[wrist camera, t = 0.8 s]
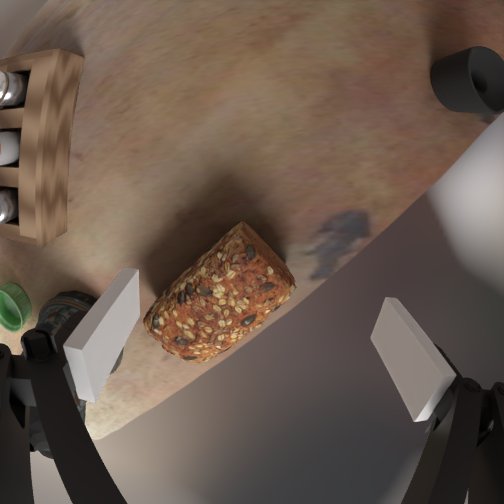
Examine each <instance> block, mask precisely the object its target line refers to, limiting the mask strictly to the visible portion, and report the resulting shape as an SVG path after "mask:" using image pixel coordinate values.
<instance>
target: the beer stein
mask: <svg viewBox="0 0 504 504" xmlns="http://www.w3.org/2000/svg"><path fill="white" fill-rule="evenodd" d="M96 301H97V299H96V298H94V297H93V296H90V295H87V294H84V293H81V292H78V291H69V292H61V293H59V294H57V295H56V296H55V297H54V298H53V299H51V300H49V301H48V302H47V303H45V305H44V306H43V307H42V309H41V311H40V314H39V318H38V323H37V325H36V327H35V328H45V329H48V330H49V331H51V332H52V334H53V336H54V335H55V334H56V333H57V332H58V330H59V329H60V328H61V327H62V326H63V324H64V323H66V321H67V319H68V318H69V317H70V316H71V315H72V314H74V313H75V312H77V311H79V310H84V311H88V312H89V310H90V309H91V308H92V306H93V305H94V304H95V303H96ZM123 348H124V346H123ZM123 348H122V350H121V352H120V354H119V356H118V358H117V360H116V362H115V364H114V366H113V368H112V370H111V372H110V374H112V373H113V372H114V371H116V369H117V368H118V366H119V365H120V363H121V360H122V355H123ZM21 355H23V356H25V354H24V351H23V352H22V353H21ZM73 398H74V400H75V403H76V405H77V408H78V410H79V413H80V415H81V417H82V420H83V422H84V424H85V410H86V402H87V401H85V400H82V399H79V398H78V395H77V392H76V389H75V391H74V393H73ZM29 441H30V452H35V451H36V450H38V451H39V452H40V453H41V454H42V455H44V456H46V457H48V458H51V459H53V456H52V454H51V451H50V448H49V445H48V442H47V439H46V436H45V433H44V430H43V427H42V423H41V420H40V416H39V413H38V409H37V406H30V420H29Z"/></svg>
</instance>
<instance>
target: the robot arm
mask: <svg viewBox="0 0 504 504" xmlns="http://www.w3.org/2000/svg"><path fill="white" fill-rule="evenodd" d="M139 316H140V304H139V269H134V268H127V267H124V269H123V270H122V271H121V272H120V273H119V275H118V276H117V277H116V278H115V279H114V281H113V282H112V283H111V284H110V285H109V287H108V288H107V289H106V290H105V292H104V293H103V294H102V295H101V296H100V298H99V299H98V300H97V301H96V303H95V304H94V305H93V306H92V308H91V309H90V310H89V312H88V311H84V310H79V311H77V312H75V313H74V314H72V315H71V316H70V317H69V318H68V319H67V321H66V323H64V324H63V326H62V327H61V328H60V329H59V330H58V332H57V333H56V334H55V335H54V336H53V334H52V332H51V331H49V330H48V329H45V328H33V329H30V330H28V331H27V332H25V333H24V334H23V336H22V337H21V345H22V348H23V351H24V354H25V356H23V355H12V353H11V351H10V349H9V347H8V346H7V345H5V344H1V343H0V504H34V498H33V489H32V479H31V466H30V441H29V420H30V406H37V409H38V413H39V416H40V420H41V423H42V427H43V430H44V433H45V436H46V439H47V442H48V445H49V448H50V451H51V454H52V456H53V459H54V462H55V464H56V467H57V469H58V472H59V474H60V476H61V479H62V481H63V484H64V486H65V488H66V490H67V493H68V495H69V497H70V499H71V501H72V503H73V504H127V502H126V501H125V499H124V498H123V496H122V494H121V493H120V491H119V489H118V488H117V486H116V484H115V483H114V481H113V479H112V478H111V476H110V474H109V472H108V470H107V469H106V467H105V465H104V463H103V461H102V459H101V457H100V456H99V453H98V452H97V450H96V448H95V446H94V443H93V442H92V439H91V437H90V435H89V433H88V431H87V429H86V426H85V424H84V422H83V420H82V417H81V415H80V413H79V410H78V408H77V405H76V403H75V400H74V398H73V393H74V391H75V389H76V392H77V395H78V398H79V399H82V400H85V401H89V402H92V403H96V402H97V400H98V398H99V395H100V393H101V391H102V389H103V387H104V385H105V383H106V381H107V379H108V377H109V375H110V372H111V370H112V368H113V366H114V364H115V362H116V360H117V358H118V356H119V354H120V352H121V350H122V348H123V346H124V345H125V343H126V341H127V339H128V337H129V335H130V333H131V331H132V329H133V327H134V325H135V323H136V322H137V320H138V318H139ZM371 340H372V342H373V344H374V346H375V347H376V349H377V351H378V353H379V355H380V357H381V358H382V360H383V362H384V364H385V366H386V368H387V370H388V372H389V373H390V375H391V377H392V379H393V381H394V383H395V385H396V387H397V389H398V391H399V393H400V395H401V397H402V398H403V401H404V402H405V405H406V407H407V408H408V411H409V413H410V414H411V417H412V419H413V421H414V422H417V421H423V420H427V419H428V418H429V416H430V415H431V413H432V412H433V411H434V412H435V414H436V418H435V419H434V420H433V421H432V423H431V424H430V425H429V427H428V428H427V430H426V431H425V433H427V432H428V431H429V430H430V432H429V435H428V438H427V441H426V444H425V447H424V449H423V452H422V455H421V457H420V460H419V463H418V465H417V468H416V470H415V473H414V475H413V478H412V480H411V482H410V485H409V487H408V489H407V491H406V493H405V496H404V498H403V500H402V502H401V504H464V502H465V499H466V495H467V491H468V504H504V383H502V382H496V383H494V385H493V386H492V388H491V389H490V390H485V389H482V388H481V386H480V384H478V383H477V382H476V381H475V380H473V379H471V378H463V377H462V376H461V374H460V373H459V372H458V370H457V369H456V368H455V366H454V365H453V364H452V363H451V362H450V360H449V358H448V357H446V355H445V353H444V352H443V350H442V349H441V348H440V347H438V346H437V345H436V344H434V343H432V342H431V340H430V339H429V338H428V336H427V335H426V334H425V333H424V331H423V330H422V329H421V327H420V326H419V325H418V324H417V322H416V321H415V320H414V319H413V317H412V316H411V315H410V314H409V312H408V311H407V310H406V309H405V308H404V306H403V305H402V304H401V303H400V302H399V300H397V298H388V297H387V298H385V300H384V303H383V306H382V309H381V311H380V314H379V317H378V320H377V322H376V325H375V328H374V330H373V333H372V335H371ZM493 423H494V425H493V429H492V431H491V430H490V426H491V425H492V424H493Z"/></svg>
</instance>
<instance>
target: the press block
mask: <svg viewBox="0 0 504 504" xmlns="http://www.w3.org/2000/svg"><path fill="white" fill-rule="evenodd" d="M84 60H85V58H84V57H81V56H79V55H76V54H74V53H71V52H69V51H66V50H64V49H61V48H56V49H50V50H44V51H39V52H33V53H28V54H24V55H19V56H15V57H11V58H7V59H3V60H0V71H3V72H10V73H16V74H22V75H28V76H30V79H29V84H28V89H27V95H26V101H25V104H24V105H22V106H11V105H0V132H11V131H20V132H21V142H20V156H19V161H18V162H14V163H9V164H4V165H0V191H2V190H5V189H8V188H11V187H16V188H18V199H19V216H18V217H16V218H14V219H12V220H10V221H8V222H5V223H3V224H1V225H0V237H1V238H5V239H9V240H14V241H18V242H23V243H27V244H32V245H37V246H41V247H43V246H44V245H46V244H47V243H49V242H50V241H52V240H54V239H55V238H57V237H58V236H60V235H61V234H63V233H65V232H66V231H67V186H68V168H69V155H70V144H71V135H72V127H73V119H74V113H75V106H76V100H77V94H78V89H79V84H80V79H81V74H82V69H83V65H84Z"/></svg>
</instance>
